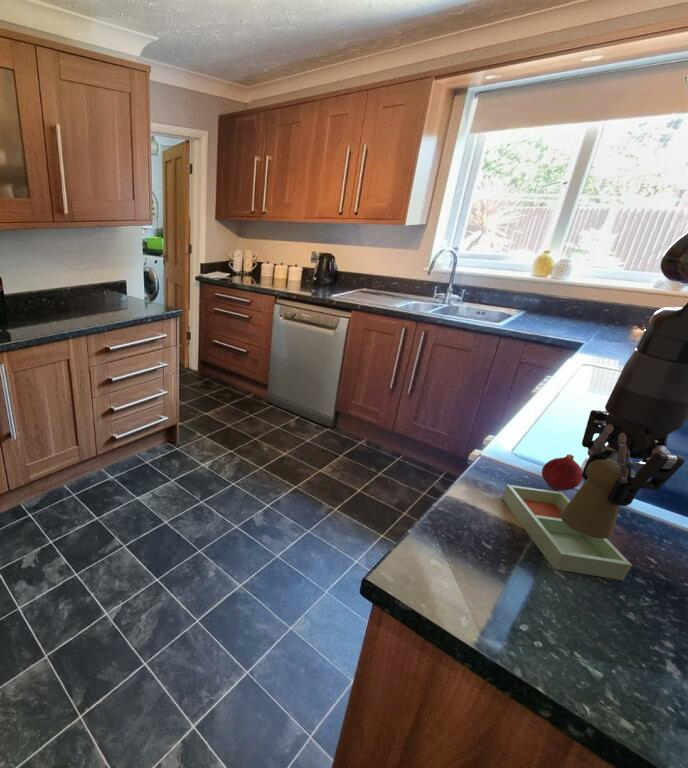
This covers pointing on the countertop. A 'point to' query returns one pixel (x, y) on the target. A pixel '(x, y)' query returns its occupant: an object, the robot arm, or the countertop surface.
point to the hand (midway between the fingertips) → (602, 490)
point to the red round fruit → (562, 473)
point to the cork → (594, 501)
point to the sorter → (563, 535)
